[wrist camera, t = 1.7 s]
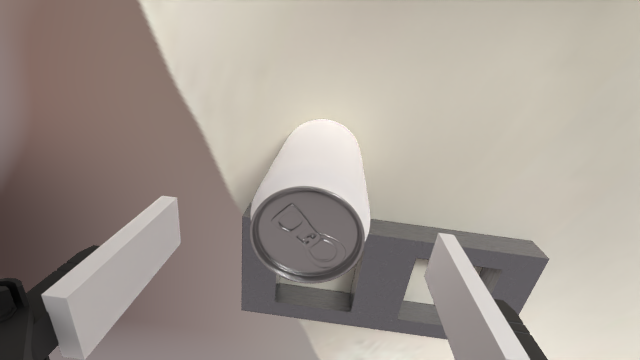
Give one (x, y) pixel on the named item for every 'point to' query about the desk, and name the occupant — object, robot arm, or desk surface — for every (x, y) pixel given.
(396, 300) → the holder
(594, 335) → the desk surface
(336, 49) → the desk surface
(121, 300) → the robot arm
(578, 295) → the desk surface
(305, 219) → the can
